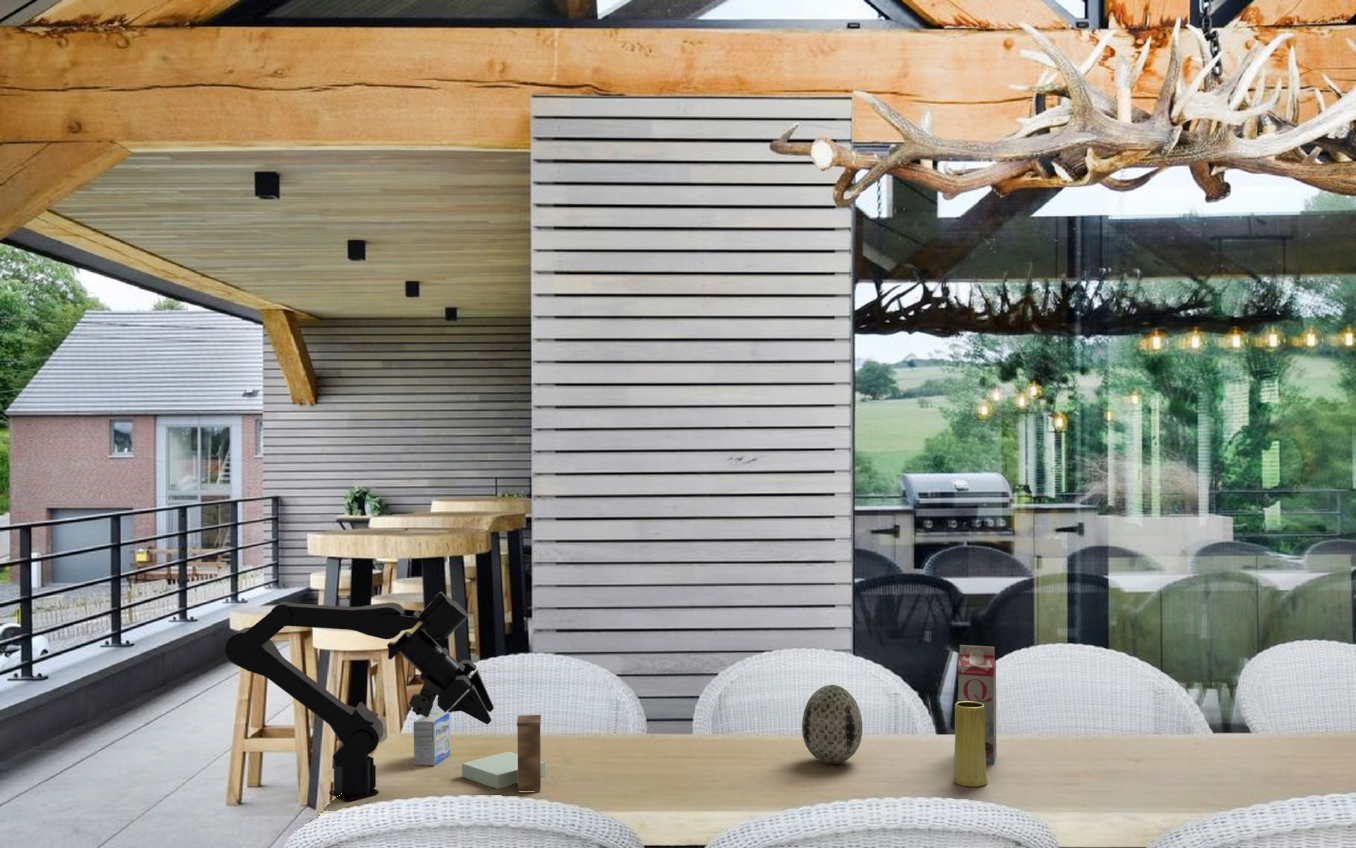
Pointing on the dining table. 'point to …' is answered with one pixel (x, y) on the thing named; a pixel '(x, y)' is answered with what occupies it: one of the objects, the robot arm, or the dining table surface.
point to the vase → (969, 744)
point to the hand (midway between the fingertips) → (490, 716)
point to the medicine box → (432, 739)
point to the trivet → (495, 770)
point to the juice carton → (980, 688)
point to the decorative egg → (832, 725)
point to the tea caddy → (529, 752)
